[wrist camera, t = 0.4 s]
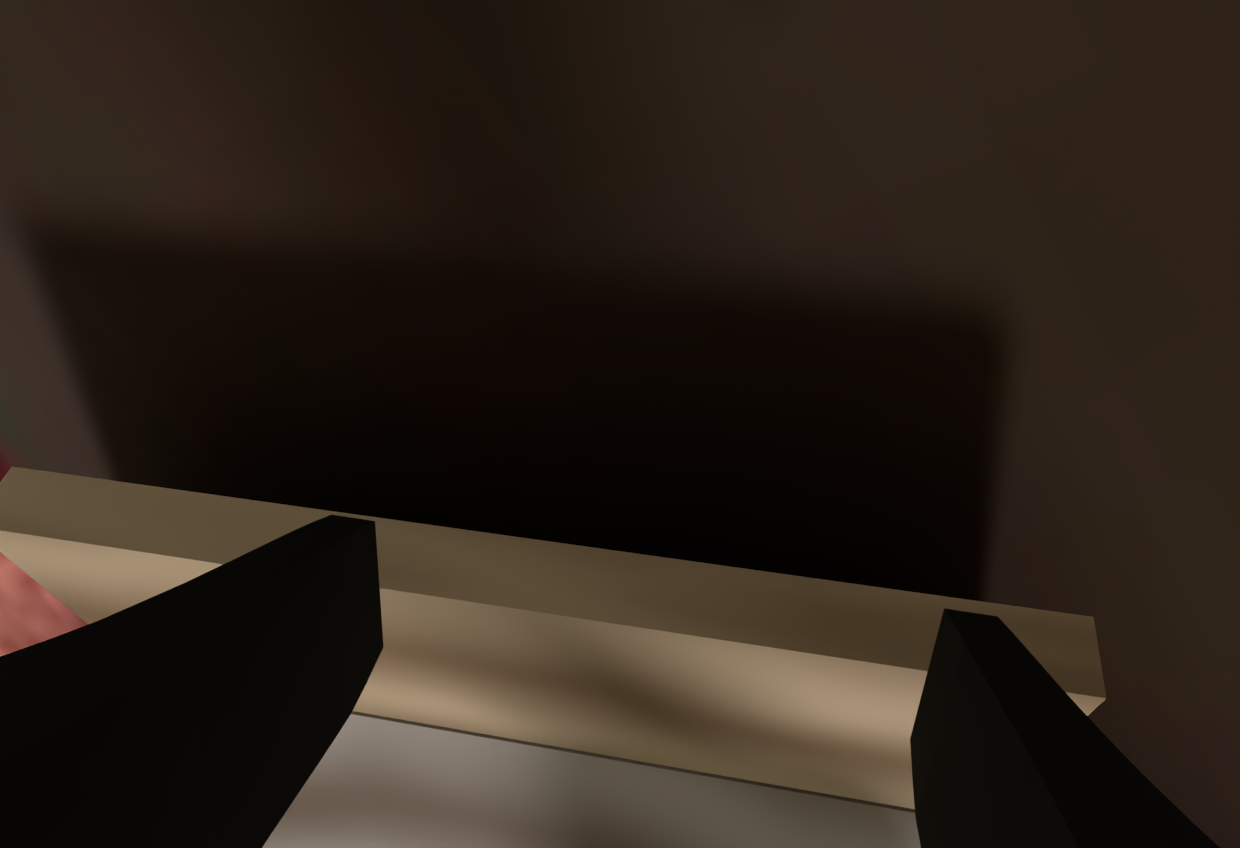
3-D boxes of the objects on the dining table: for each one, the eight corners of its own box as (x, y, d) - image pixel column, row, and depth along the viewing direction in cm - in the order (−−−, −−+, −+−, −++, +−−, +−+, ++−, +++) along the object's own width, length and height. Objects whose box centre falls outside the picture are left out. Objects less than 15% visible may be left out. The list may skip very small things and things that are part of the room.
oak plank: (971, 757, 22) (975, 819, 21) (177, 626, 25) (151, 675, 24) (1093, 617, 16) (1106, 698, 15) (12, 466, 19) (-32, 525, 18)
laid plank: (907, 977, 26) (913, 1028, 24) (225, 838, 29) (197, 877, 28) (963, 775, 22) (974, 823, 21) (186, 645, 26) (152, 679, 24)
